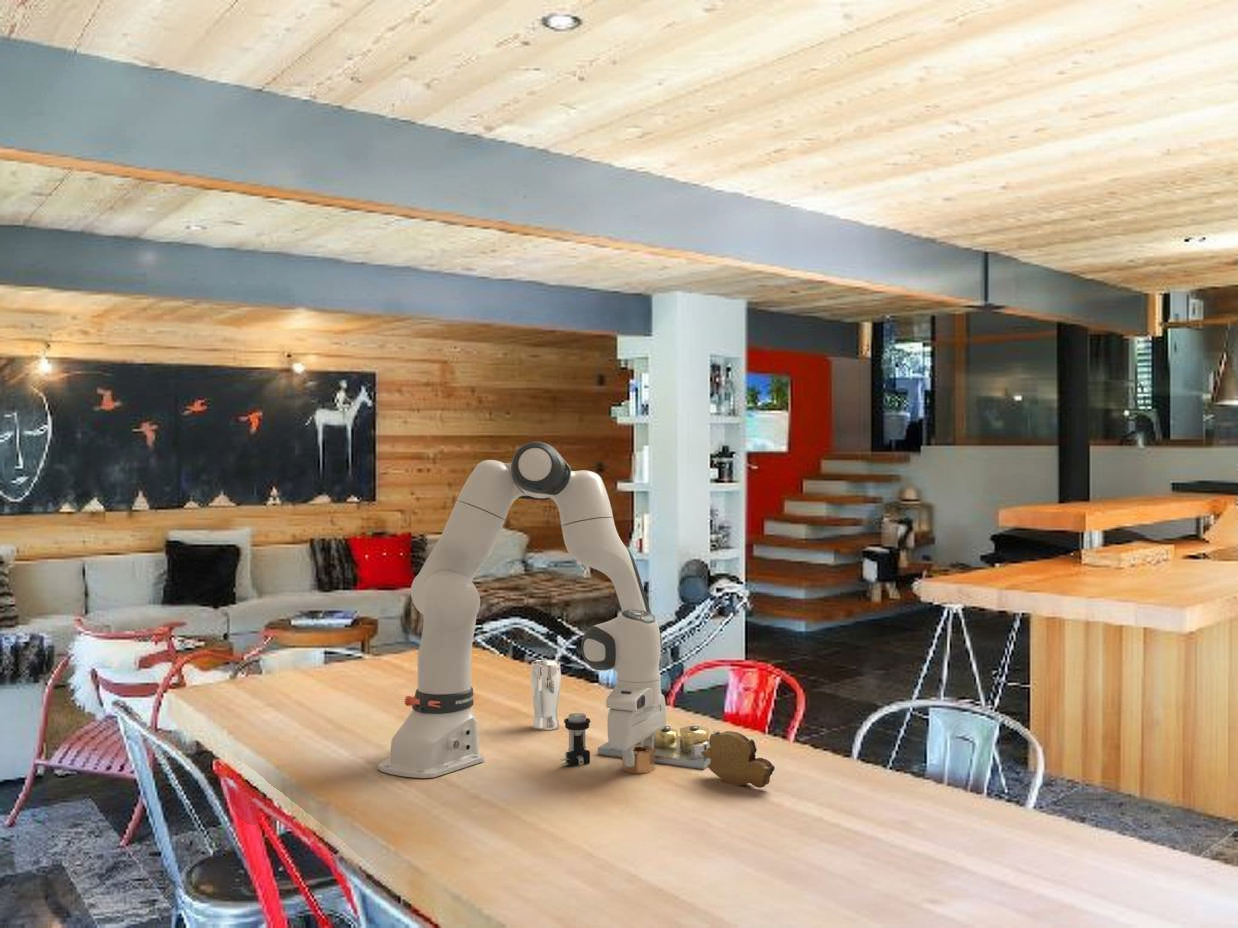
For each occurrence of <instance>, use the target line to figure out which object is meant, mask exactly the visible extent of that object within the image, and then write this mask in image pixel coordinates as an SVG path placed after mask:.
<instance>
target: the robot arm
mask: <svg viewBox="0 0 1238 928" xmlns="http://www.w3.org/2000/svg"><path fill="white" fill-rule="evenodd" d="M517 499H525V500H534V501H545V500H547V501H548V500H549V499H551V501H553V502H554V503H555V505H556V506H557V510H558V514H559V518H560V526H561V532H562V537H563V541H564V545H565V547H566V548H565V549H566V550H567V553H568V554H569V556H571V558H573V559H574V560H575V561H577V562H578V563H579V564H581V565H583V566H585V567H589V568H591V569H594V570H597V571H598V572H601V573H603V574H604V575H605V576H607V578H609V579H610V580H611V583H612V584H613V586H614V589H615V592H616V596H617V599H618V602H619V606H620V610H621V612H620V613H619V614H618V615H617V617H615V618H612V619H610V620H608V621H605V622H601V623H599V624H598V623H597V624H595V625H593V626H589V627H588V628H587V629H586V630H585V631H584V634H583V636H582V639H581V646H580V647H581V654H582V658H583V660H584V661H585V663H586V664H587V666H589V667H590V668H591V669H593V670H595V671H603V672H605V671H612V670H613V671H616V684H615V686H614V687H613V689H612V691H611V692H610V694H609V695H608V696H607V697H606V699H605V705H606V706H605V707H606V708H607V709H609V710H608V712H607V740H608V741H607V742H609V745H610V747H611V748H613V749H619V750H622V751H623V754H624V756H625V765H626V766H628V767H633V766H634V765H636V756H634V752H633V750H634V745H635V744H637V743H639V742H640V741H642V740H644V741H643V745H645V746H651V747H652V746H653V742H654V739H655V733H656V732H658V731H660V730H661V729H663V728H664V727H665V726H667V725H666V724H667V707H666V699H665V695H664V694H662V689H661V686H662V684H661V683H662V682H661V681H662V680H661V678H662V677H661V673H660V669H659V668H660V667H659V665H660V660H661V655H662V654H661V652H662V647H663V646H662V644H663V640H662V639H663V637H662V633H661V631H660V627H659V622H658V620H657V617H656V616H655V615H654V614H652V611H651V609H650V605H649V602H648V599H647V595H646V592H645V590H644V585H643V583H642V579H641V576H640V573H639V570H638V567H637V564H636V561H635V559H634V556H633V554H632V552H631V551H630V549H629V548H628V546H626V545H625V544H624V542H623V541H622V539H621V538H620V536H619V532H618V531H617V527H616V524H615V519H614V515H613V509H612V506H611V502H610V498H609V495H608V491H607V490H606V486H605V484H604V482H603V479H602V477H601V476H600V475H599V474H598V473H596V472H595V471H591V470H587V469H586V470H585V469H584V470H583V469H582V470H572V467H571V466H570V465H569V464H568V463H567V462H566V460H565V459H564V458H563V456H562V455H561V454H560V452H558V450H557V449H555V447H553V446H552V445H550V444H548V443H545V442H542V441H532V442H528V443H525V444H523V445H521V446H520V447H519V448H517V450H516V452H514V455H513V457H512V459H511V462H508V463H507V462H502V461H499V460H496V459H495V460H494V459H486V460H482V461H481V462H478V463H477V465H476V466H475V467H474V468H473V471H471V473H470V475H469V476H468V478H467V480H466V481H465V483H464V485H463V486H462V488H461V491H460V492H459V495H458V497H457V499H456V502H455V503H454V505H453V508H452V511H451V513H450V514H449V515H450V516H449V517H448V519H447V523H446V524H445V526H444V529H443V531H442V533H441V535H440V538H438V541H437V542H436V544H435V545H434V547H433V549H432V550H431V552H430V553H429V555H428V556H427V558H426V560H425V562H424V563H423V565H422V567H421V569H420V571H419V573H418V574H417V575H416V576H415V577H414V579H413V581H412V583H411V587H410V596H411V600H412V603H413V605H414V607H415V609H416V610H417V611H418V612H419V613H420V614H422V616H423V617H422V618H423V619H422V620H423V621H422V623H423V625H422V631H421V639H420V644H419V648H418V650H417V688H416V690H415V694H414V696H411V695H406V696H405V697H404V702H403V703H404V705H405V706H406V707H411V708H412V710H411V712H410V714H409V715H408V716H407V718H406V719H405V721H404V722H403V723H402V724H401V726H400V727H399V729H398V730H397V731H396V733H395V734H394V735H393V737H392V738H391V742H390V751H389V752H390V753H389V754H390V755H389V757H388V758H386V759H384V760H383V761H381V762H380V763H378V764H377V765H378V766H377V769H378V771H380V772H381V773H382V772H383V773H386V774H390V775H393V776H399V777H407V778H417V779H418V778H419V779H429V778H430V779H432V778H437V777H439V776H442V775H446V774H449V773H452V772H455V771H458V770H461V769H465V768H467V767H470V766H473V765H477V764H480V763H482V762H484V761H485V758H484V754H482V753H481V751H480V749H481V748H480V738H479V728H478V721H477V718H476V717H475V714H474V712H473V706H474V699H475V694H474V687H472V648H473V640H474V635H475V631H476V623H477V616H478V613H479V611H480V608H481V598H480V597H481V596H480V594H479V591H478V589H477V587H476V585H475V583H474V582H473V580H474V578H475V576H476V575H477V573H478V572H479V570H480V569H481V567H483V564H484V563H485V562H486V560H488V558H490V556H491V555H492V554H493V553H492V552H493V550H494V548H495V546H496V543H497V540H498V539H499V537H500V534H501V531H502V530H503V527H504V524H505V521H506V519H507V517H508V514H509V512H510V509H511V508H512V506H513V504H514V502H516V500H517Z"/></svg>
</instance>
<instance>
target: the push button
mask: <svg viewBox="0 0 1238 928" xmlns="http://www.w3.org/2000/svg"><path fill="white" fill-rule="evenodd" d="M563 723H564V728H565V729H566V730H567V731H568V749H567V751H566V752H565V754H564V755H565V756H564V757H565V758H562V759H560V761H562V762H564V761H565V762H564V763H560V766H568V767H571V768H572V767H576V766H583V765H589V764H590V763H591V751H590V750H588V749H587V746H586V730H588V729H589V728H590V723H591V719H590V718H588V717H587V715H586V713H582V712H574V713H569V714H568V717H567V718H565V719H564V720H563Z"/></svg>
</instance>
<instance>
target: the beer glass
mask: <svg viewBox="0 0 1238 928" xmlns="http://www.w3.org/2000/svg"><path fill="white" fill-rule="evenodd" d="M561 670H562V669H561V662H560V660H556V659H537V660H534V661H532V662H531V667H530V691H531V697H532V702H533V703H532V704H533V710H534V717H533V723H532V728H533V729H534V730H537V731H554V730H557V729H559V728H560V722H559V716H558V707H559V701H560V695H561V694H560V693H561V687H562V671H561Z"/></svg>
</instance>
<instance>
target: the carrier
mask: <svg viewBox="0 0 1238 928" xmlns="http://www.w3.org/2000/svg"><path fill="white" fill-rule="evenodd" d="M717 732H719V733H721V731H720V730H713V734H715V733H717ZM709 734H710V732H709V728H707V727H704V726H697V725H687V726H683V727H680V728H679V735H678V729H676V728H672V727H671V726H670V725H665V727H664V728H663V729H661V730H660V731H658V732H656V733H655V739H654V742H653V746H652V748H653V749H655V763H656V764H663V765H671V766H676V767H685V768H690V769H697V770H706V769H707V768H708V765H709V764H710V758H707V757H704V756H703V755H702V753H701V752H702V751H704V750H706V749H708V748H710V744H709V739H710V736H709ZM643 741H644V740H642V741H640V742H639V743H637V744H635V745H643ZM597 755H599V756H606V757H614V758H619V759H620V758H621V759H622V750H619V749H613V748H611V747H610V745H609V742H608V741H607V742H605V743H604V744H602V745H600V746H597Z"/></svg>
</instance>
